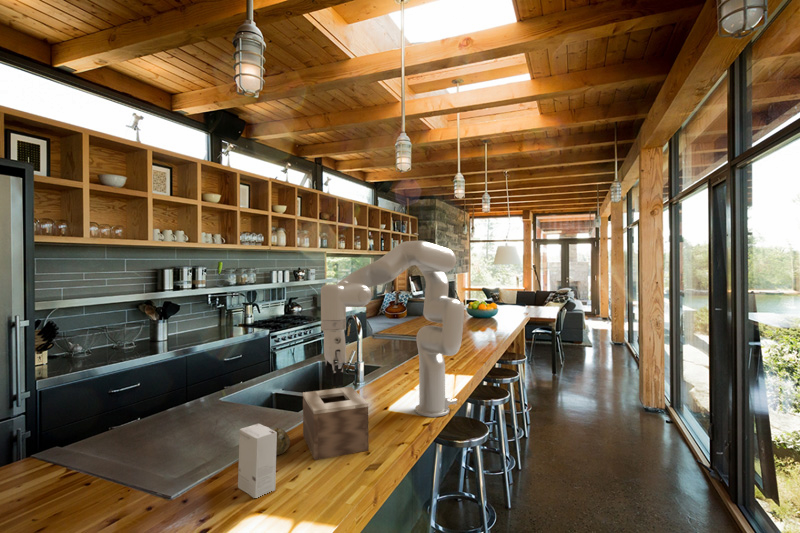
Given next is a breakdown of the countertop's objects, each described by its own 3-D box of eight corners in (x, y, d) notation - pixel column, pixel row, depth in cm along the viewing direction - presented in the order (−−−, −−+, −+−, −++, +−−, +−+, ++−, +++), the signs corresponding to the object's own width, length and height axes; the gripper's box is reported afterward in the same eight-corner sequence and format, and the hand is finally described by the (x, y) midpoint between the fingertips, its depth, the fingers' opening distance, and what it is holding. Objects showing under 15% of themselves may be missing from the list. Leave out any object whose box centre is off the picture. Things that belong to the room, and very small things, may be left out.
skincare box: (237, 488, 108) (236, 428, 108) (259, 479, 113) (258, 421, 112) (256, 500, 103) (255, 437, 102) (278, 490, 107) (277, 430, 107)
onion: (296, 448, 131) (296, 422, 130) (280, 460, 123) (280, 432, 123) (274, 445, 133) (274, 419, 133) (258, 456, 125) (257, 429, 125)
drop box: (351, 428, 146) (351, 386, 146) (368, 450, 129) (368, 403, 129) (303, 436, 140) (302, 392, 139) (314, 460, 123) (313, 410, 123)
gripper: (353, 328, 127) (353, 388, 127) (338, 320, 143) (338, 373, 144) (327, 330, 124) (328, 391, 125) (315, 321, 140) (316, 376, 141)
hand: (334, 381), depth 134 cm, fingers open, 8 cm apart
